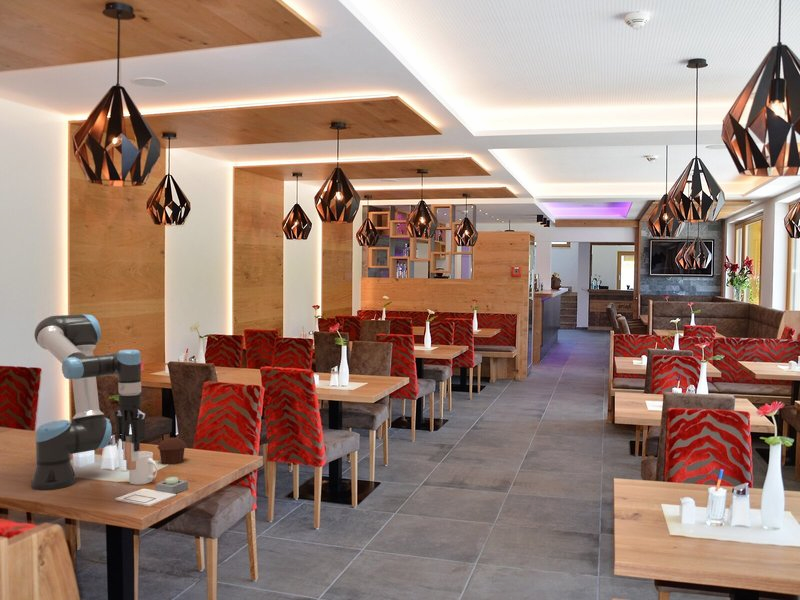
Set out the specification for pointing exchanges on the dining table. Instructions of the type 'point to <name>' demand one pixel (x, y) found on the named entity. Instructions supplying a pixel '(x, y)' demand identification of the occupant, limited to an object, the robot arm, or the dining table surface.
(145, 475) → the mug
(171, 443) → the muffin
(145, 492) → the sheet
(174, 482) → the button
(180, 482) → the button housing
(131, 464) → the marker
